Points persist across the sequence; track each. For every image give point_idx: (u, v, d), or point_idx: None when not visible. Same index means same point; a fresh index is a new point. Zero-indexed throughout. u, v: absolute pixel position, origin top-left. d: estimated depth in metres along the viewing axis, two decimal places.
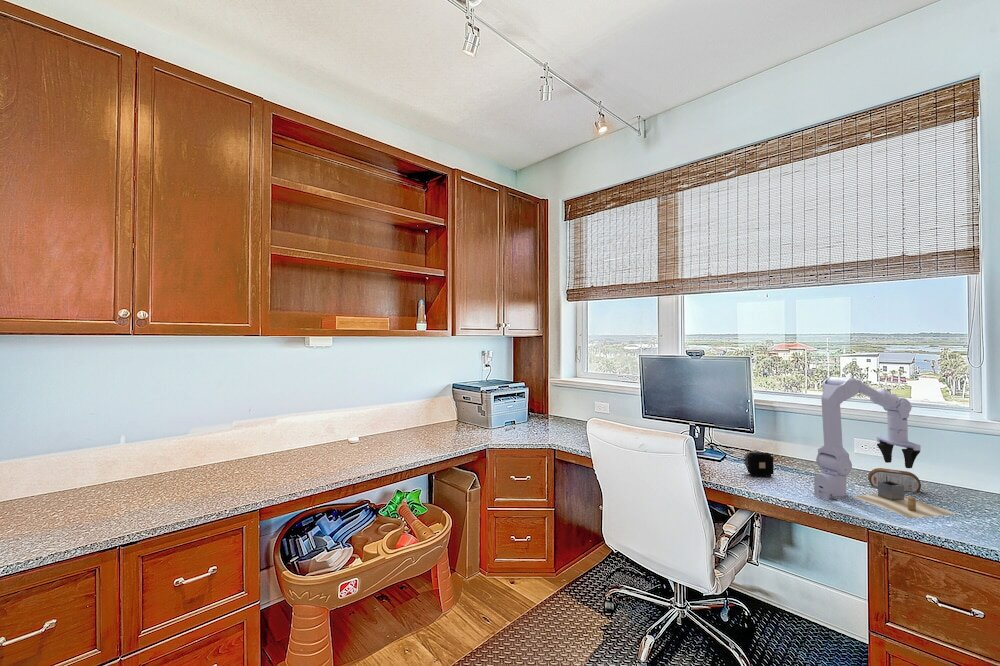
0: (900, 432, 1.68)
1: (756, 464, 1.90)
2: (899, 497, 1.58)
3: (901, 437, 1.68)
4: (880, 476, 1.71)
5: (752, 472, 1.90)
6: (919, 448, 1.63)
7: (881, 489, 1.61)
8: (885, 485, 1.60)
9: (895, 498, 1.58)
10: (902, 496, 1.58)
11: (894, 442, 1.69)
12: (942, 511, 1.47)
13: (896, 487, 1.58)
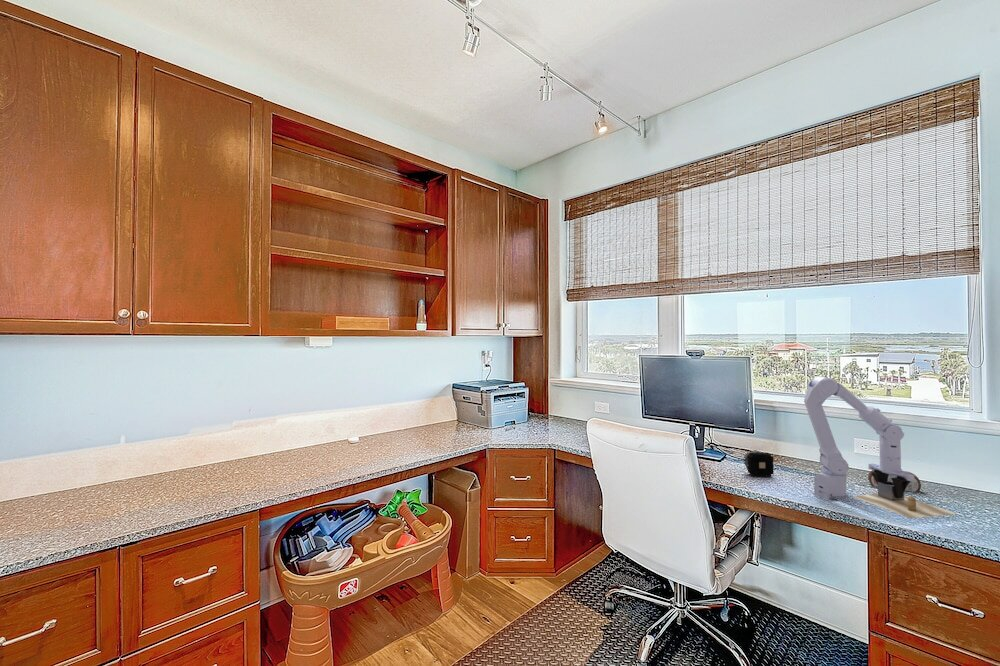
0: (893, 460, 1.58)
1: (756, 464, 1.90)
2: None
3: (894, 466, 1.58)
4: None
5: (752, 472, 1.90)
6: (913, 478, 1.53)
7: (881, 489, 1.61)
8: (885, 485, 1.60)
9: (895, 498, 1.58)
10: None
11: (886, 471, 1.59)
12: (942, 511, 1.47)
13: None
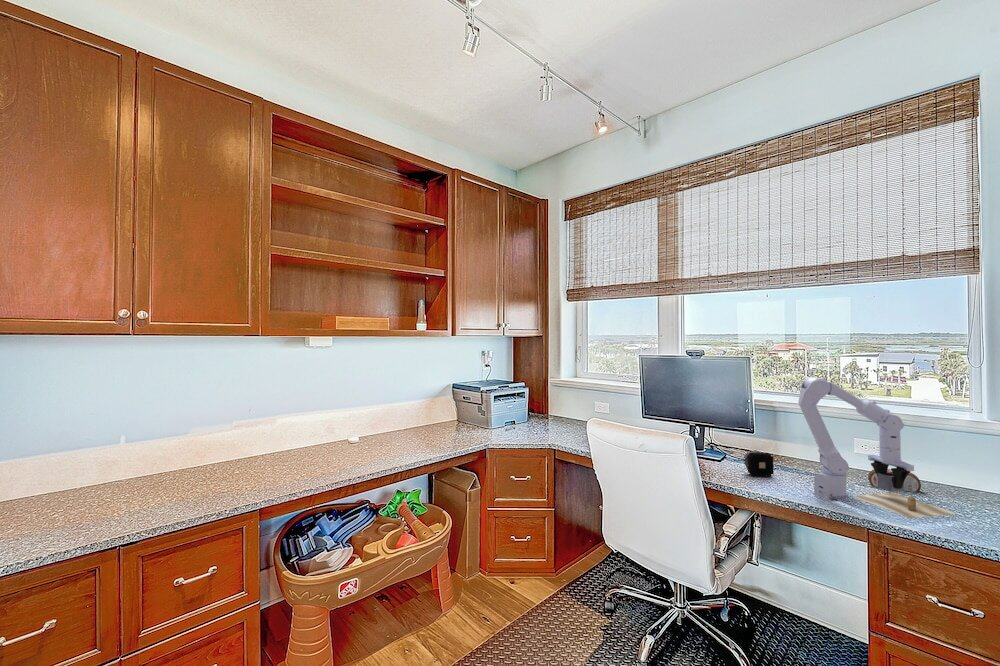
0: (892, 451, 1.58)
1: (756, 464, 1.90)
2: None
3: (894, 456, 1.58)
4: None
5: (752, 472, 1.90)
6: (912, 469, 1.53)
7: (881, 480, 1.61)
8: (885, 476, 1.60)
9: (895, 489, 1.58)
10: (902, 487, 1.58)
11: (886, 461, 1.59)
12: (942, 511, 1.47)
13: None
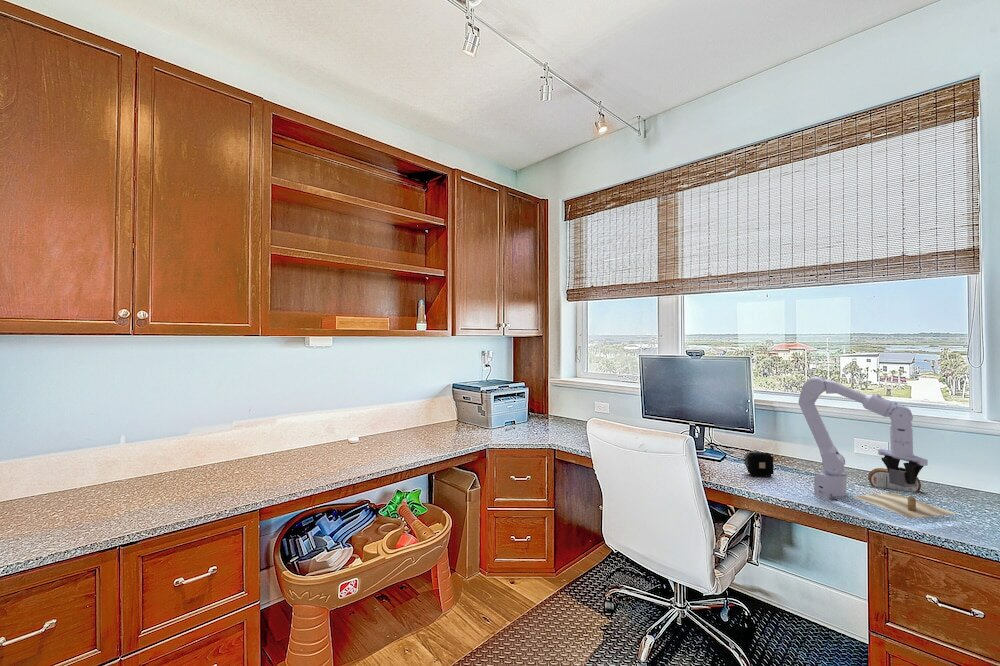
0: (905, 445, 1.51)
1: (756, 464, 1.90)
2: None
3: (906, 450, 1.51)
4: (880, 476, 1.71)
5: (752, 472, 1.90)
6: (926, 463, 1.47)
7: (893, 475, 1.54)
8: (897, 471, 1.53)
9: (907, 485, 1.51)
10: (915, 482, 1.52)
11: (898, 456, 1.52)
12: (942, 511, 1.47)
13: None
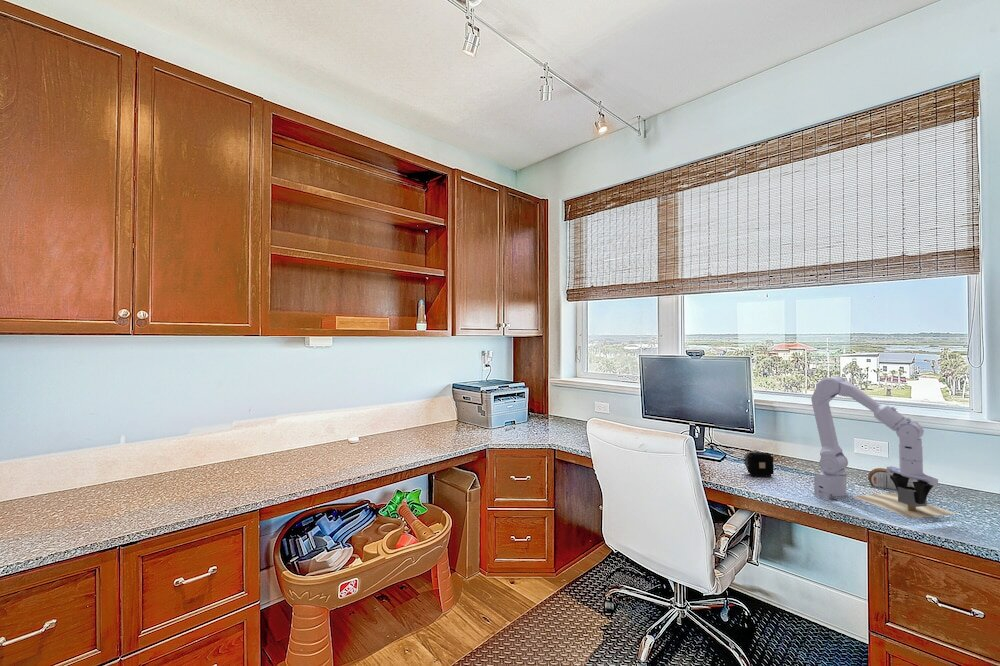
0: (914, 463, 1.46)
1: (756, 464, 1.90)
2: None
3: (915, 469, 1.46)
4: (880, 476, 1.71)
5: (752, 472, 1.90)
6: (936, 483, 1.42)
7: (902, 494, 1.49)
8: (906, 490, 1.48)
9: (917, 504, 1.46)
10: (925, 502, 1.47)
11: (907, 474, 1.47)
12: (942, 511, 1.47)
13: None
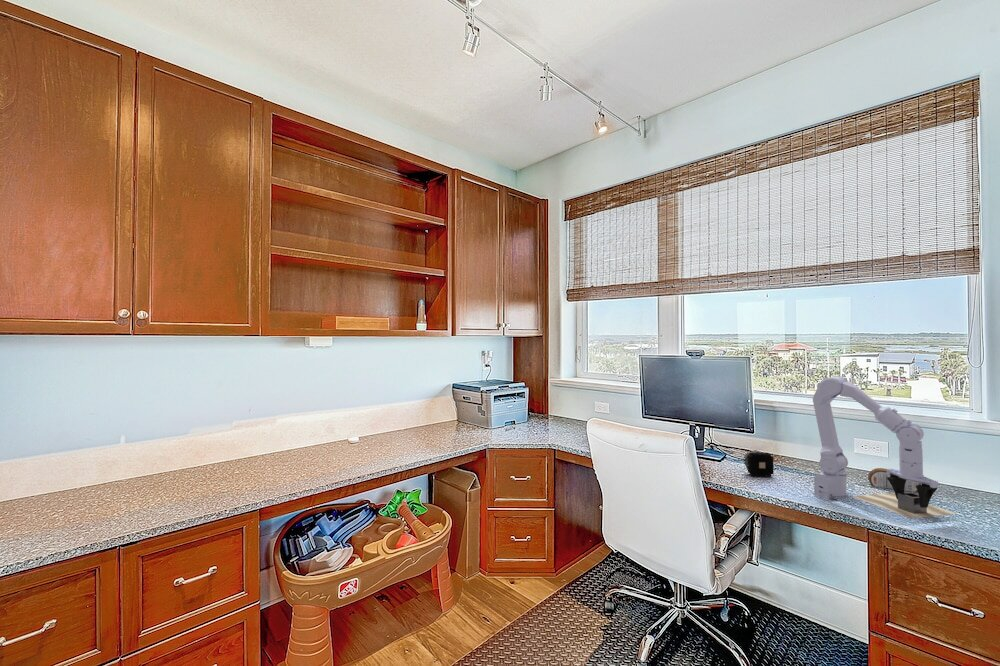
0: (914, 466, 1.46)
1: (756, 464, 1.90)
2: (922, 510, 1.46)
3: (915, 471, 1.46)
4: (880, 476, 1.71)
5: (752, 472, 1.90)
6: (936, 485, 1.42)
7: (902, 501, 1.49)
8: (906, 497, 1.48)
9: (917, 511, 1.46)
10: (924, 509, 1.47)
11: (907, 477, 1.47)
12: (942, 511, 1.47)
13: (918, 499, 1.46)
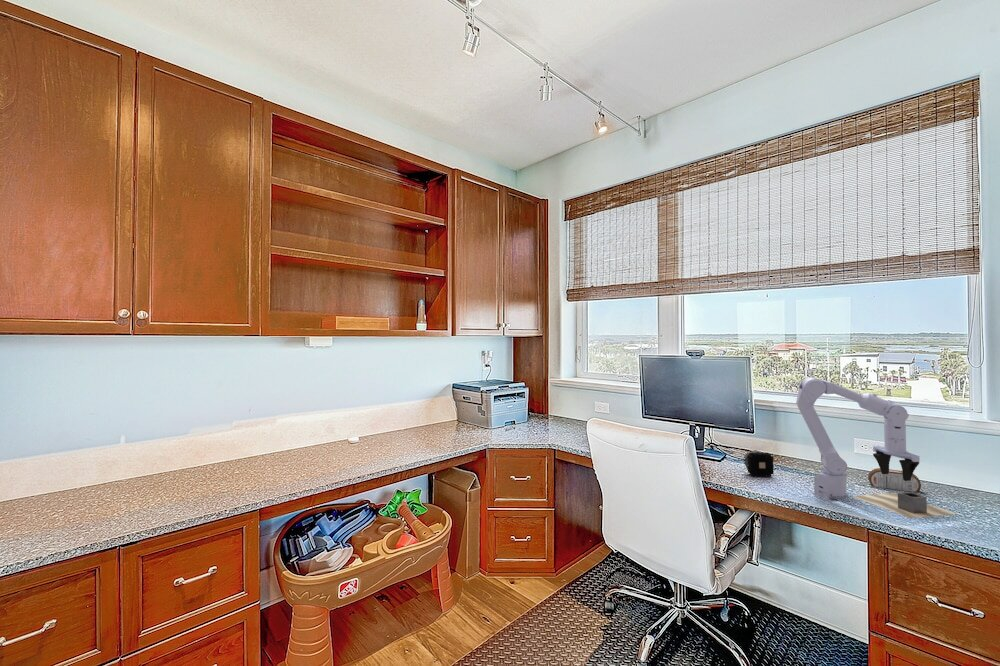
0: (898, 442, 1.56)
1: (756, 464, 1.90)
2: (922, 510, 1.46)
3: (899, 447, 1.56)
4: (880, 476, 1.71)
5: (752, 472, 1.90)
6: (918, 459, 1.51)
7: (902, 501, 1.49)
8: (906, 497, 1.48)
9: (917, 511, 1.46)
10: (924, 509, 1.47)
11: (891, 452, 1.57)
12: (942, 511, 1.47)
13: (918, 499, 1.46)
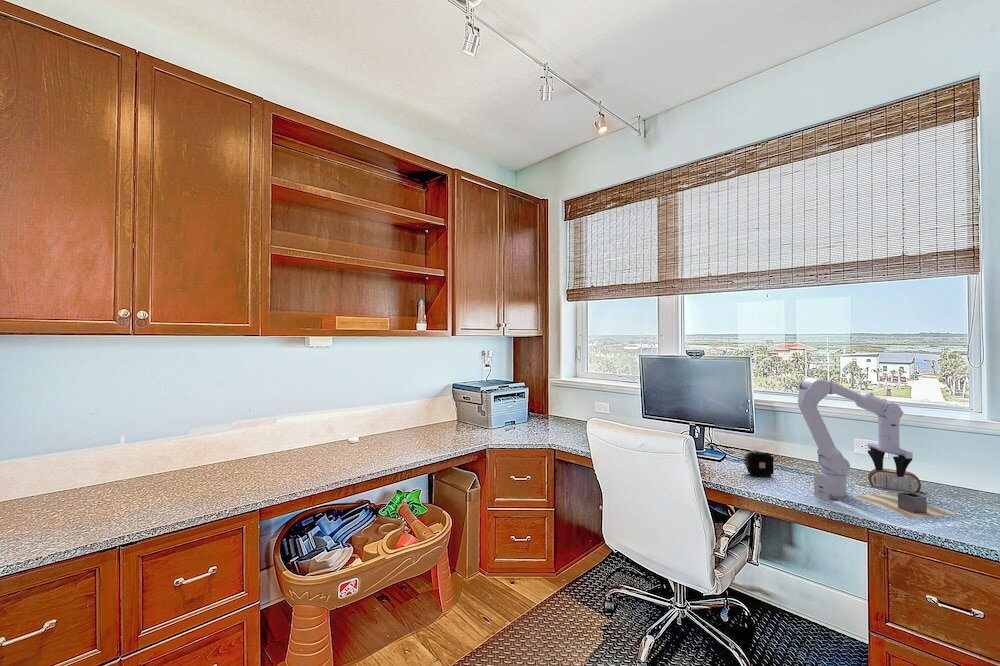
0: (891, 439, 1.60)
1: (756, 464, 1.90)
2: (922, 510, 1.46)
3: (893, 444, 1.60)
4: (880, 476, 1.71)
5: (752, 472, 1.90)
6: (911, 456, 1.56)
7: (902, 501, 1.49)
8: (906, 497, 1.48)
9: (917, 511, 1.46)
10: (924, 509, 1.47)
11: (885, 449, 1.61)
12: (942, 511, 1.47)
13: (918, 499, 1.46)
